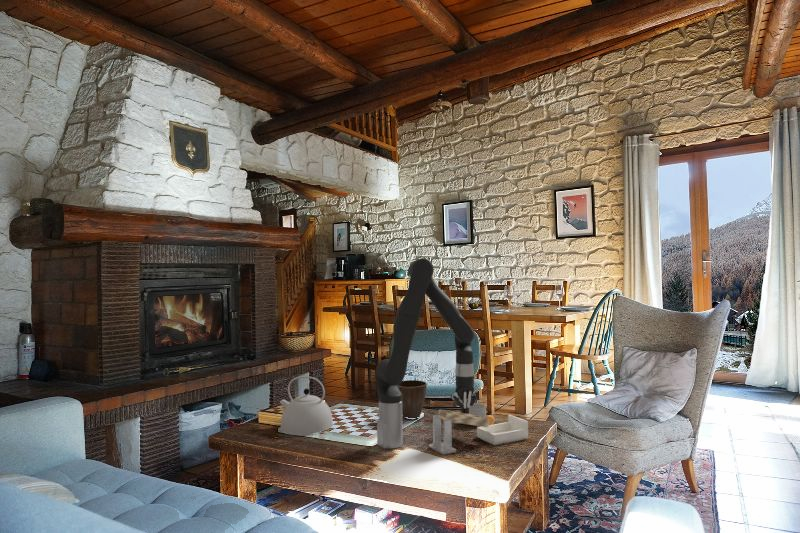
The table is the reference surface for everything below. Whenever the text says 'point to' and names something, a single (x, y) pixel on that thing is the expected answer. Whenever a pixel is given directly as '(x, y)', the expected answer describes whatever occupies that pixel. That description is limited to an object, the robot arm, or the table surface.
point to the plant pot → (412, 397)
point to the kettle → (305, 413)
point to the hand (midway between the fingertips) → (465, 416)
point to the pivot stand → (447, 436)
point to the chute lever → (463, 418)
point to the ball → (490, 419)
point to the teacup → (478, 410)
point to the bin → (504, 431)
